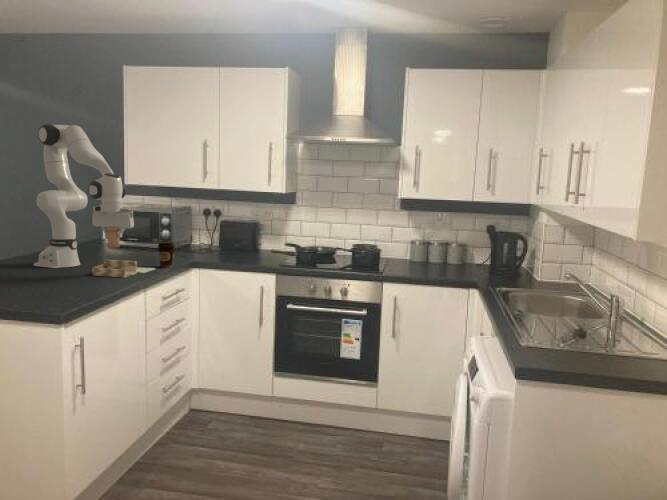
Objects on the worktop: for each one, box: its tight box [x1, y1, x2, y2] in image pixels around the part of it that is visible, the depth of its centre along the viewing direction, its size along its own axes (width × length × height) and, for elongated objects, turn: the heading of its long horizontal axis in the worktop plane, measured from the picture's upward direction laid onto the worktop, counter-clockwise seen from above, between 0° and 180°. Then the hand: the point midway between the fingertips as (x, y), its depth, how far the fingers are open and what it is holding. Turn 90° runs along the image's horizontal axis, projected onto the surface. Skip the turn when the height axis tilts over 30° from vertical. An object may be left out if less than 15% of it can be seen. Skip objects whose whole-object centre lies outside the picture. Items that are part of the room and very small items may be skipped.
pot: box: [106, 227, 121, 248], centre depth 277 cm, size 6×6×10 cm
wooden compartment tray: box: [91, 258, 138, 278], centre depth 279 cm, size 17×11×6 cm, turn 79°
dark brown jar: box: [157, 241, 176, 268], centre depth 302 cm, size 9×8×13 cm
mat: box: [137, 266, 156, 274], centre depth 291 cm, size 12×12×1 cm
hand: (113, 236), depth 277 cm, fingers closed on pot, 5 cm apart
